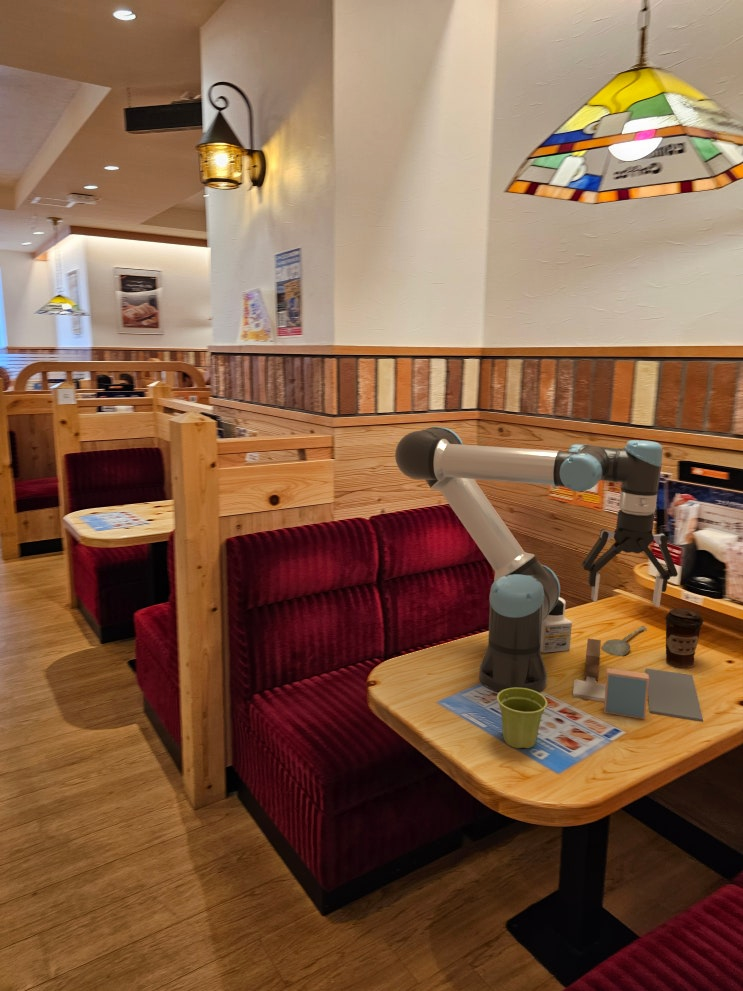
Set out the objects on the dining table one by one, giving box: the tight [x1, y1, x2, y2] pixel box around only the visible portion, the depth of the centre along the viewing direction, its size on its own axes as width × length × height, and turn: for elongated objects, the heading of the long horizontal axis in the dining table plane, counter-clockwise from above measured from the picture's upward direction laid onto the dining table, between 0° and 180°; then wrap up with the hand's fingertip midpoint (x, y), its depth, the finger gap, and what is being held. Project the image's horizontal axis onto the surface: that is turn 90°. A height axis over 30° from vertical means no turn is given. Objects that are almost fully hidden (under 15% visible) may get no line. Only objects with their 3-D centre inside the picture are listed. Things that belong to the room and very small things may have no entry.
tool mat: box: [645, 667, 704, 722], centre depth 147 cm, size 10×21×1 cm, turn 160°
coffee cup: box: [664, 607, 704, 668], centre depth 161 cm, size 9×8×13 cm
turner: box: [572, 638, 606, 703], centre depth 153 cm, size 7×20×6 cm, turn 160°
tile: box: [603, 667, 649, 720], centre depth 138 cm, size 8×2×9 cm, turn 70°
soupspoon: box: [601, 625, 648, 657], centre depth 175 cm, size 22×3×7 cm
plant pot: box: [496, 688, 548, 749], centre depth 128 cm, size 9×9×9 cm
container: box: [540, 596, 573, 654], centre depth 170 cm, size 8×8×13 cm
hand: (624, 602), depth 151 cm, fingers open, 13 cm apart
